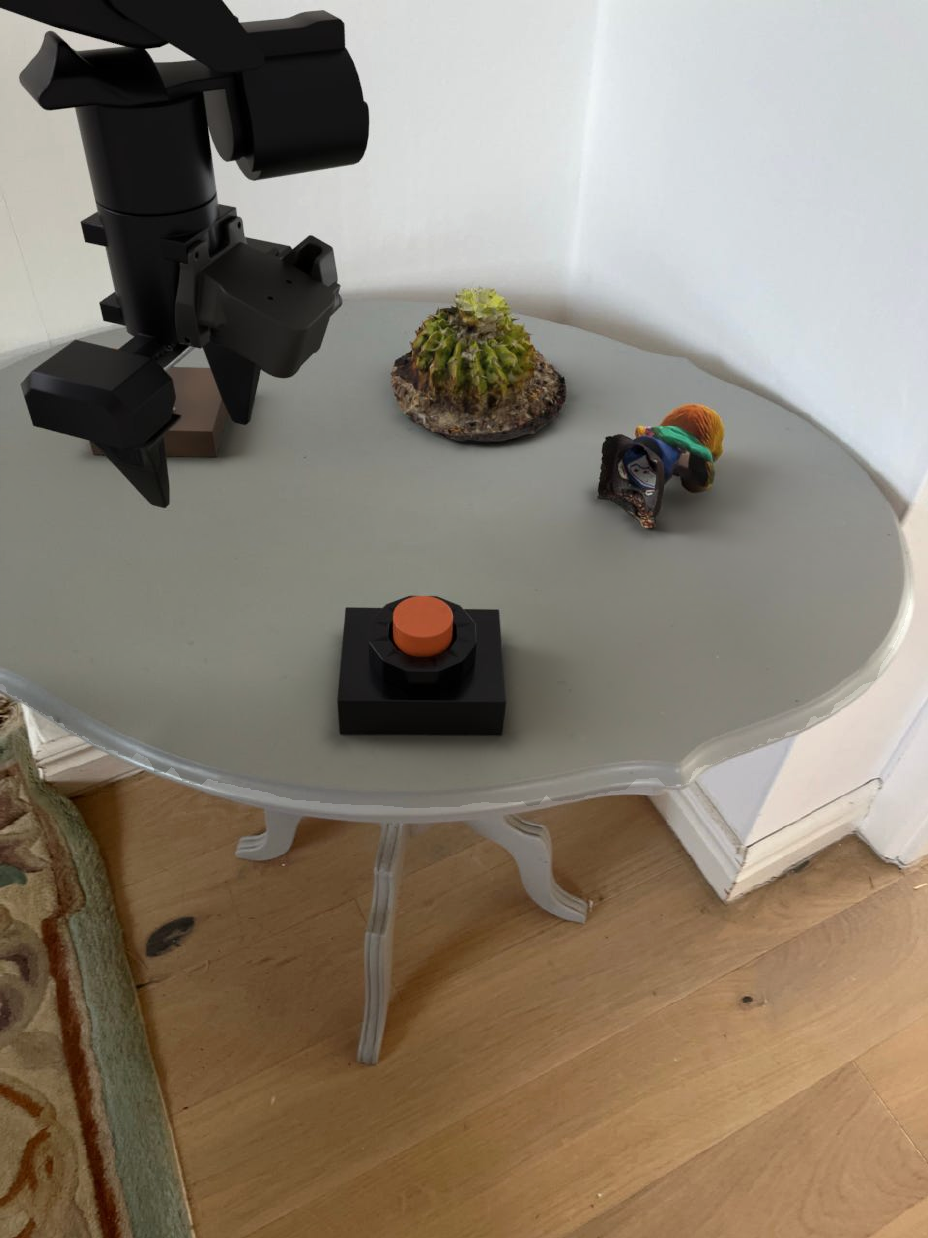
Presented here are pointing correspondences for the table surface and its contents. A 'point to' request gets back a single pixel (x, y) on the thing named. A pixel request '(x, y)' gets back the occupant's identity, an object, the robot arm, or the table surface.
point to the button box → (421, 677)
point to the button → (422, 626)
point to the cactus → (477, 373)
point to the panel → (194, 414)
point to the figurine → (661, 460)
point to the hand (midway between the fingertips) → (202, 461)
